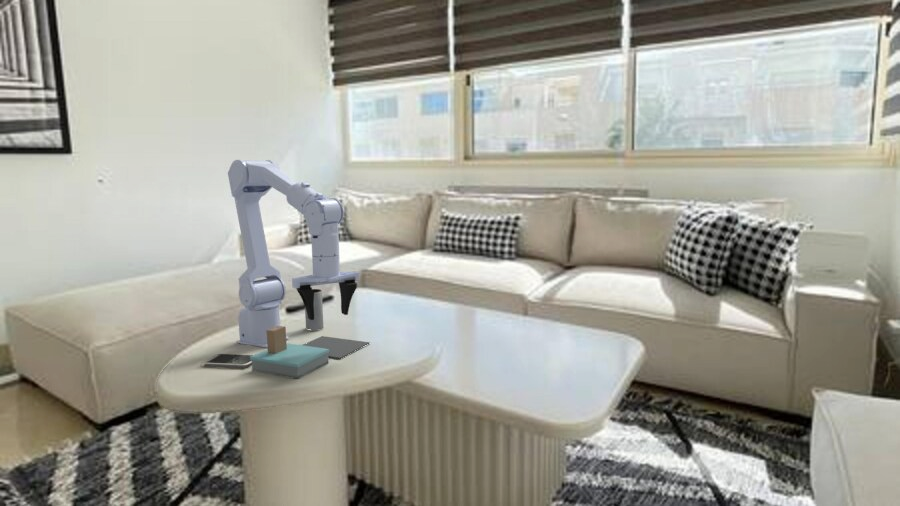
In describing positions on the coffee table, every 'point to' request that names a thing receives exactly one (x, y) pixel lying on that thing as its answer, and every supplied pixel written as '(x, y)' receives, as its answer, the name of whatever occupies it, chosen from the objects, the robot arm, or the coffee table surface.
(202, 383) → the coffee table surface
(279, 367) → the tub
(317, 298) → the grey cylinder
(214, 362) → the cell phone
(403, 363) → the coffee table surface
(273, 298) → the robot arm
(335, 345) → the mat
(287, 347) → the lid
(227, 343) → the coffee table surface
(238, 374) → the coffee table surface
